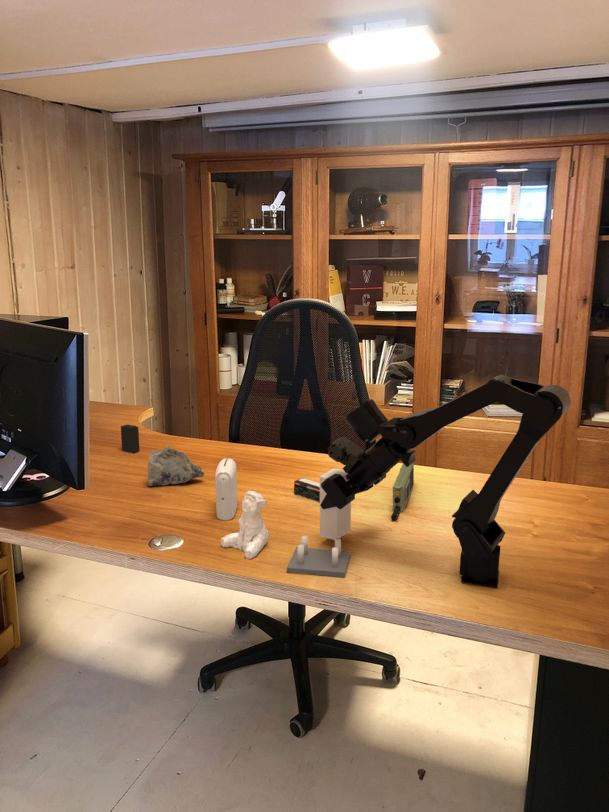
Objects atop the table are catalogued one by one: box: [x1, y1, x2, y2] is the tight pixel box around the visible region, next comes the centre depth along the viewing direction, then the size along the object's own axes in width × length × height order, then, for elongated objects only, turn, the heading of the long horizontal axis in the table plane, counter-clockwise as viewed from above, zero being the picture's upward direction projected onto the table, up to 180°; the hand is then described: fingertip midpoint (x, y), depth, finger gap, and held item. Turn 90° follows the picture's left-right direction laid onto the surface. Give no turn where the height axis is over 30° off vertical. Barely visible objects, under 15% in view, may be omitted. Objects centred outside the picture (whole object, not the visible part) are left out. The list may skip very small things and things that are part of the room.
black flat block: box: [293, 477, 320, 503], centre depth 164 cm, size 14×25×4 cm, turn 48°
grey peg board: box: [286, 535, 352, 579], centre depth 129 cm, size 11×9×4 cm
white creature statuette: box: [220, 490, 270, 560], centre depth 136 cm, size 10×9×12 cm
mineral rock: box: [147, 446, 205, 487], centre depth 172 cm, size 13×11×10 cm
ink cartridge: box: [120, 424, 141, 454], centre depth 199 cm, size 5×2×8 cm, turn 61°
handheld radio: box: [390, 462, 415, 521], centre depth 160 cm, size 7×3×25 cm
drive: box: [319, 468, 352, 541], centre depth 138 cm, size 4×6×13 cm, turn 148°
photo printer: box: [214, 457, 238, 521], centre depth 153 cm, size 10×4×12 cm, turn 0°
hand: (329, 502), depth 138 cm, fingers closed on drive, 6 cm apart
